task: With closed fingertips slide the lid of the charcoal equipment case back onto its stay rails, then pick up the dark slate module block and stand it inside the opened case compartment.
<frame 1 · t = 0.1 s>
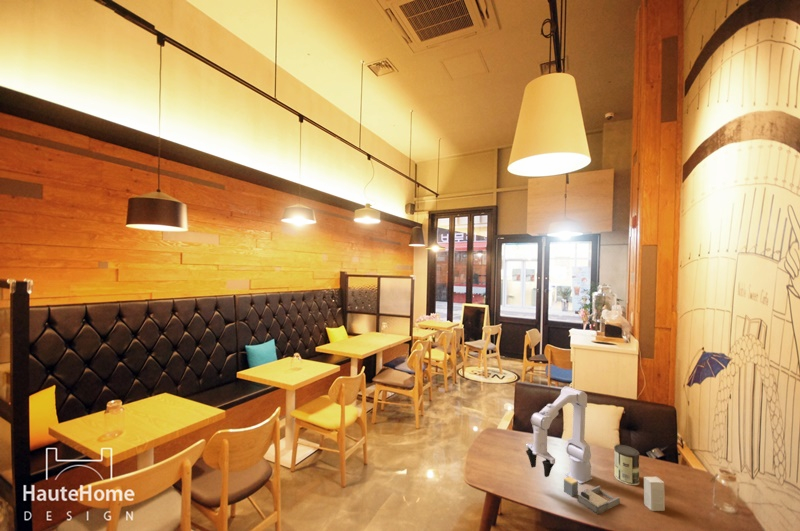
hand: (540, 471, 150), 10 cm above the table, fingers open, 7 cm apart
module: (570, 493, 151), on the table
lid: (592, 496, 143), point 4 cm above the table, slide at 0.0 cm
coffee can: (626, 479, 162), on the table
case: (592, 505, 143), on the table
skincare box: (654, 508, 142), on the table
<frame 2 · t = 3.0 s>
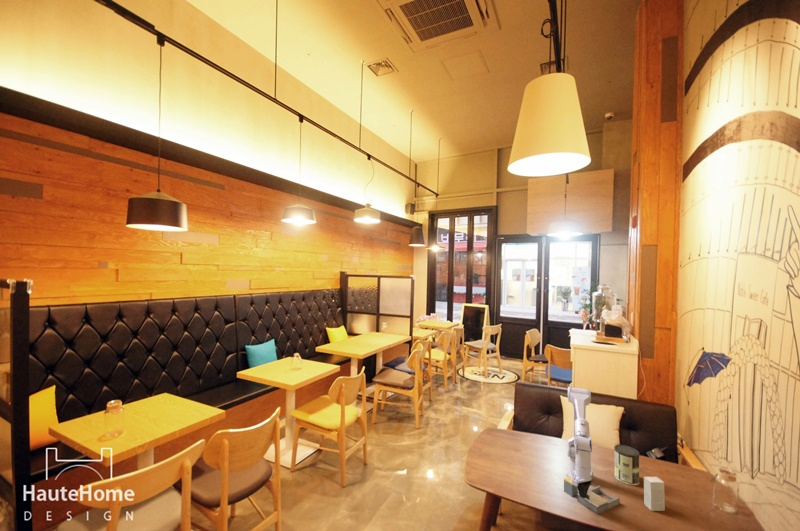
hand: (582, 496, 142), 4 cm above the table, fingers closed
lid: (592, 496, 143), point 4 cm above the table, slide at 0.0 cm, touching gripper
everything else where it was.
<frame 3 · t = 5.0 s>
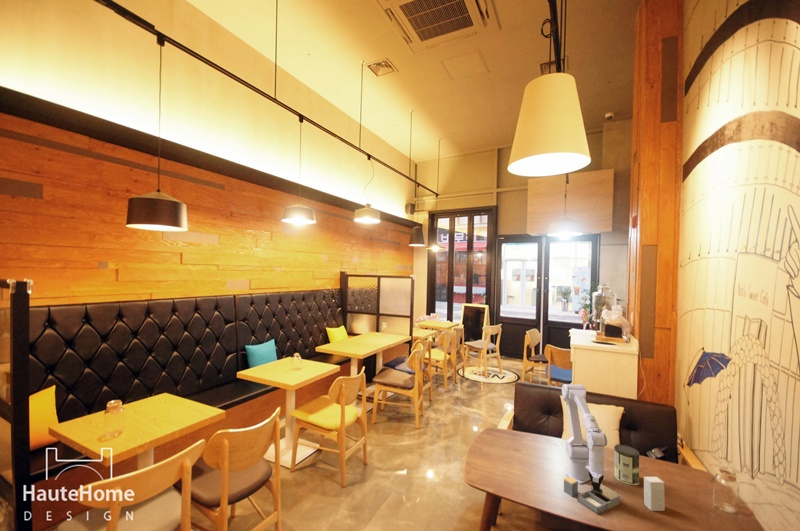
hand: (596, 490, 147), 4 cm above the table, fingers closed, pressing on lid
lid: (605, 490, 147), point 4 cm above the table, slide at 9.3 cm, touching gripper
everything else where it was.
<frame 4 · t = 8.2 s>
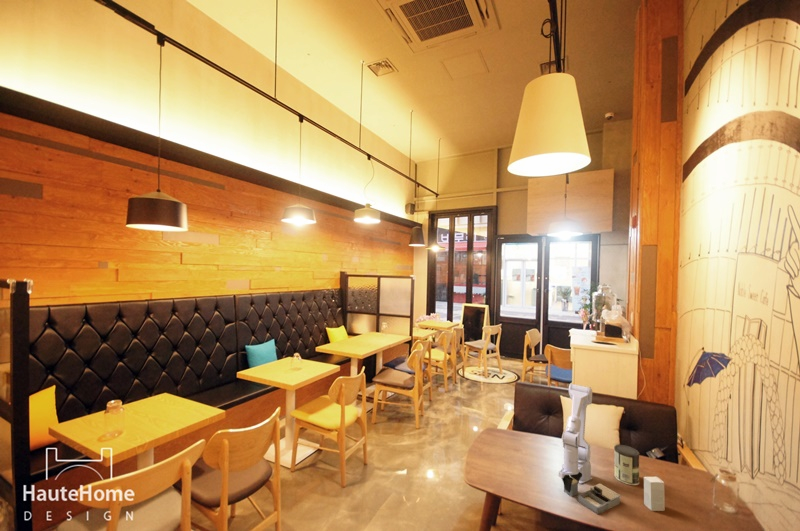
hand: (570, 489, 151), 2 cm above the table, fingers closed on module, 4 cm apart
module: (570, 492, 151), on the table, touching gripper
lid: (605, 490, 147), point 4 cm above the table, slide at 9.0 cm
everything else where it was.
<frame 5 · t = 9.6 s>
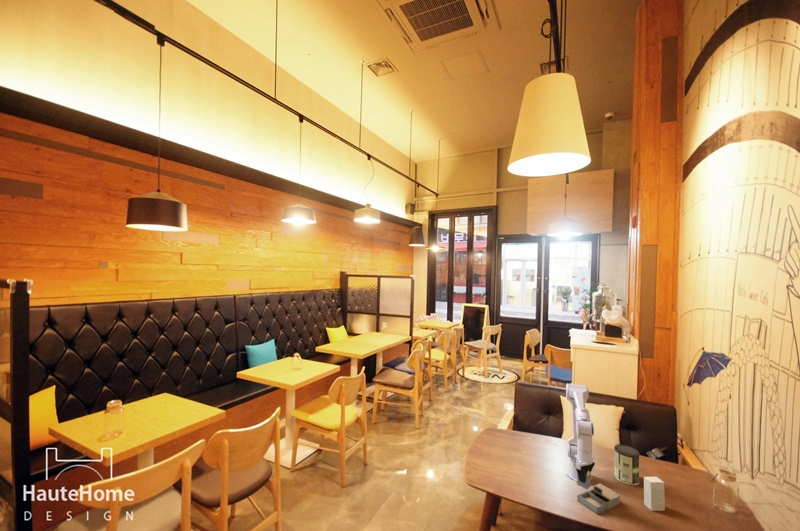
hand: (584, 480, 146), 9 cm above the table, fingers closed on module, 4 cm apart
module: (584, 485, 146), point 7 cm above the table, touching gripper
everything else where it was.
when the fingers open (4 cm above the table, at t = 11.2 s): module stays where it is, resting on case.
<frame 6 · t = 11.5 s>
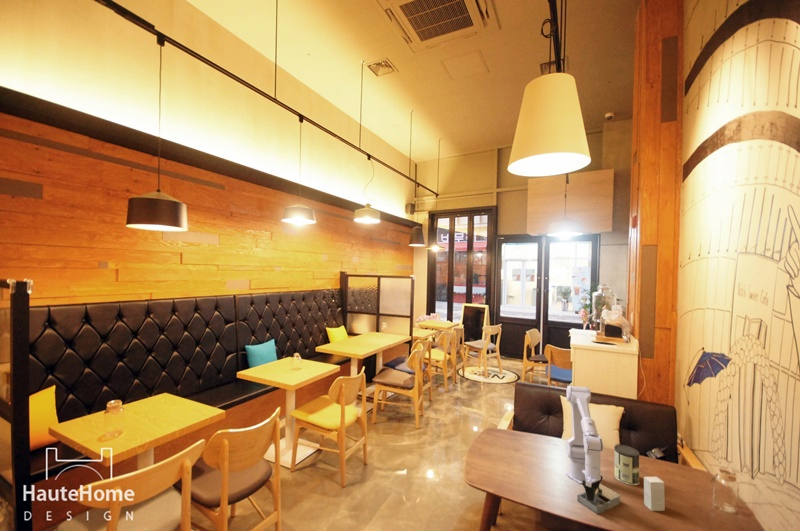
hand: (592, 496, 143), 4 cm above the table, fingers open, 7 cm apart
module: (591, 503, 143), point 1 cm above the table, touching case
everything else where it was.
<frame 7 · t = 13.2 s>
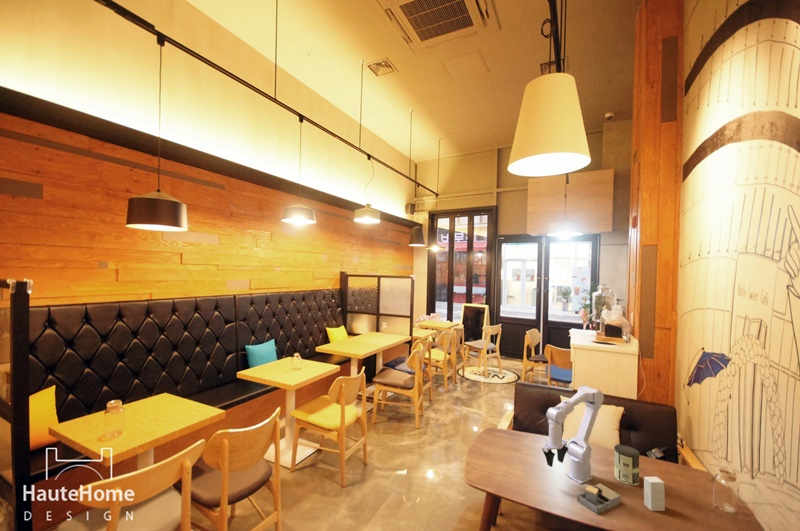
hand: (555, 463, 157), 10 cm above the table, fingers open, 7 cm apart
nothing on the table moved.
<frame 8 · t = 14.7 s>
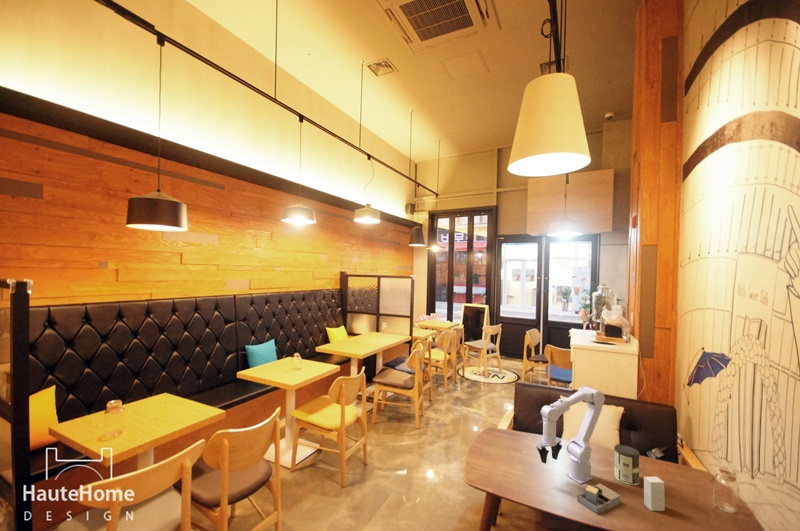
hand: (549, 460, 159), 10 cm above the table, fingers open, 7 cm apart
nothing on the table moved.
at the end: lid slide at 9.0 cm; module 0.2 cm off-centre on the case, point 0.8 cm above the case's base; module tilted 0° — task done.
